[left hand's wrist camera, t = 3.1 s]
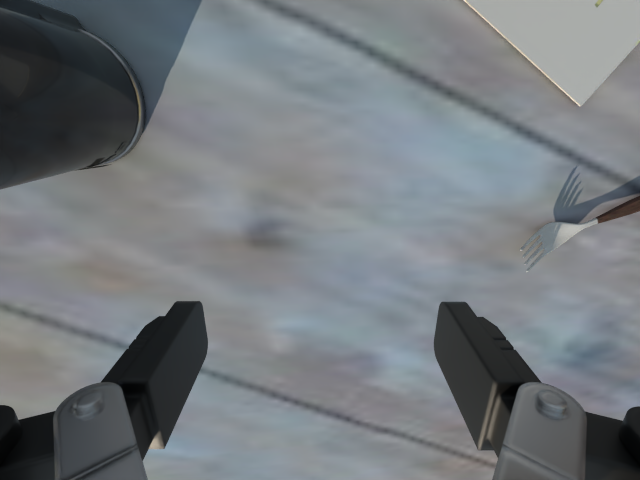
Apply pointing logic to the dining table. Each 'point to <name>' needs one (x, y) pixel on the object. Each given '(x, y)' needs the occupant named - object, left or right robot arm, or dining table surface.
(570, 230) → the fork
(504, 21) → the invitation card
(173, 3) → the dining table surface
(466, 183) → the dining table surface
